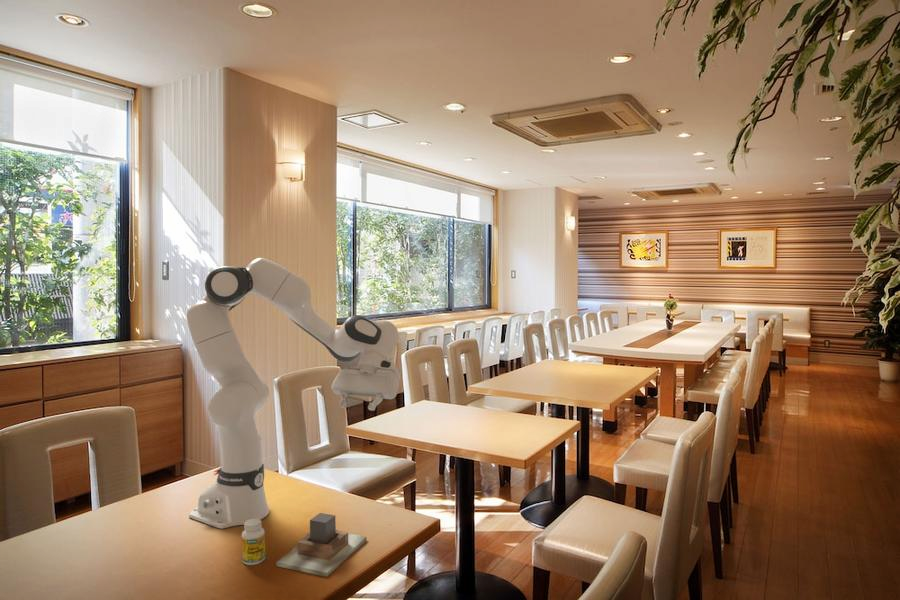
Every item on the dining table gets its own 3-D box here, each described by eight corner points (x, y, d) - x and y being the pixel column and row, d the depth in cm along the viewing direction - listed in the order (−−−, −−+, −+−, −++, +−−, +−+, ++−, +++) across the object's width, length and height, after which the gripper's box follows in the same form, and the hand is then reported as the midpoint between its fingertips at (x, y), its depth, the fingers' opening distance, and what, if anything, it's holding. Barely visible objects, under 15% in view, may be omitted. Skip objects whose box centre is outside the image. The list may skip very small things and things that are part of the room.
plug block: (310, 551, 144) (309, 520, 143) (320, 543, 148) (320, 512, 148) (326, 554, 142) (325, 522, 142) (335, 546, 147) (335, 515, 146)
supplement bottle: (262, 552, 145) (261, 515, 145) (268, 561, 141) (267, 523, 140) (239, 558, 142) (238, 520, 142) (245, 568, 138) (244, 528, 137)
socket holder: (276, 566, 139) (276, 549, 139) (320, 532, 157) (320, 517, 156) (326, 576, 134) (326, 560, 134) (366, 540, 152) (366, 525, 151)
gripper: (338, 360, 175) (320, 399, 167) (399, 363, 168) (384, 404, 160) (345, 372, 180) (329, 410, 171) (405, 376, 173) (391, 416, 164)
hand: (356, 408), depth 165 cm, fingers open, 8 cm apart
